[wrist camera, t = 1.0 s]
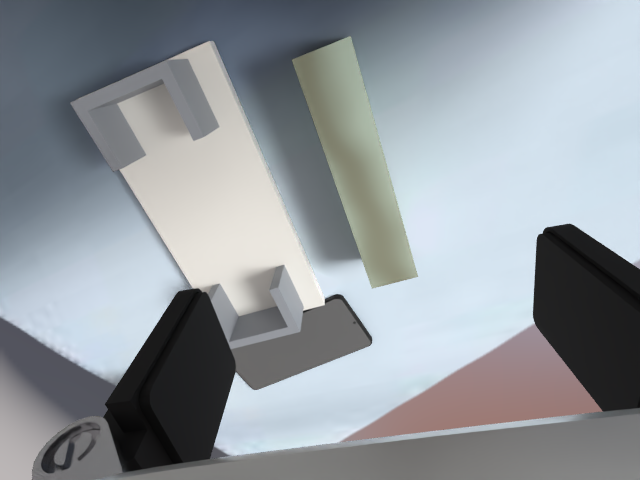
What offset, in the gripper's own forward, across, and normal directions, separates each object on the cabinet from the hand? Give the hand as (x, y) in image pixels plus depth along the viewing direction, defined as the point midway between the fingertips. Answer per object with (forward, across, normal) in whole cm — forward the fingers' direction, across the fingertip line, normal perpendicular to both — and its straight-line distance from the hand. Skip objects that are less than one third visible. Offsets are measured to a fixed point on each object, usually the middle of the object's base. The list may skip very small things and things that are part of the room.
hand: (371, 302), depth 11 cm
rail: (+20, -1, +1) cm, 20 cm away
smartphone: (+21, +9, +19) cm, 30 cm away
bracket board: (+20, +11, +3) cm, 24 cm away
